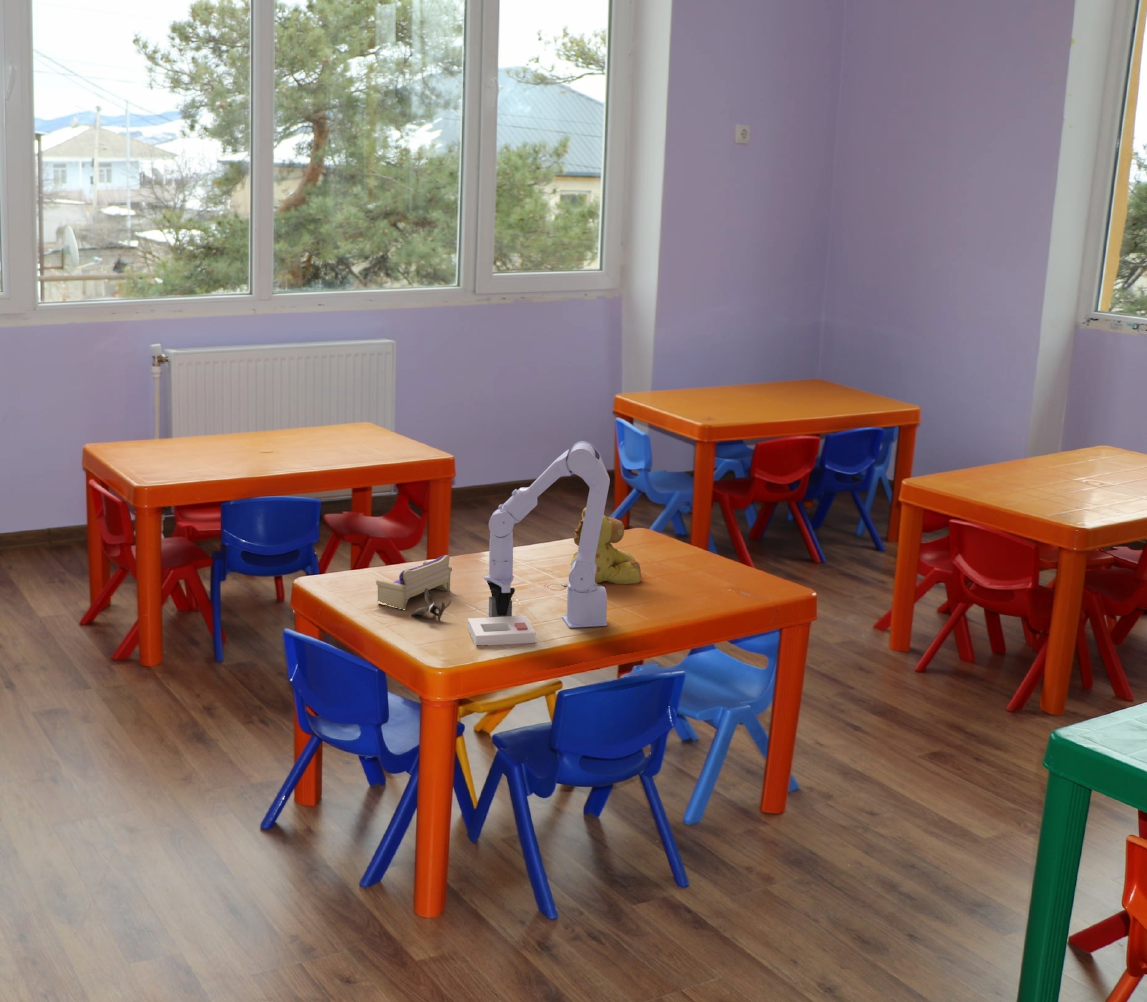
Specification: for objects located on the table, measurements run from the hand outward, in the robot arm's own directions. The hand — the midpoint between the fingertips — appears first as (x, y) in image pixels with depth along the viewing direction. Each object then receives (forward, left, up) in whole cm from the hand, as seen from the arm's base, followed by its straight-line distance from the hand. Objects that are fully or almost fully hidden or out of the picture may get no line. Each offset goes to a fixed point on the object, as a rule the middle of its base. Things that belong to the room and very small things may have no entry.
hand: (500, 611), depth 312 cm
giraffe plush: (-33, -28, -2) cm, 43 cm away
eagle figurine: (+17, -4, -2) cm, 17 cm away
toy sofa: (+19, -19, -2) cm, 27 cm away
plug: (0, 0, -2) cm, 2 cm away
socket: (+2, +12, -2) cm, 12 cm away
